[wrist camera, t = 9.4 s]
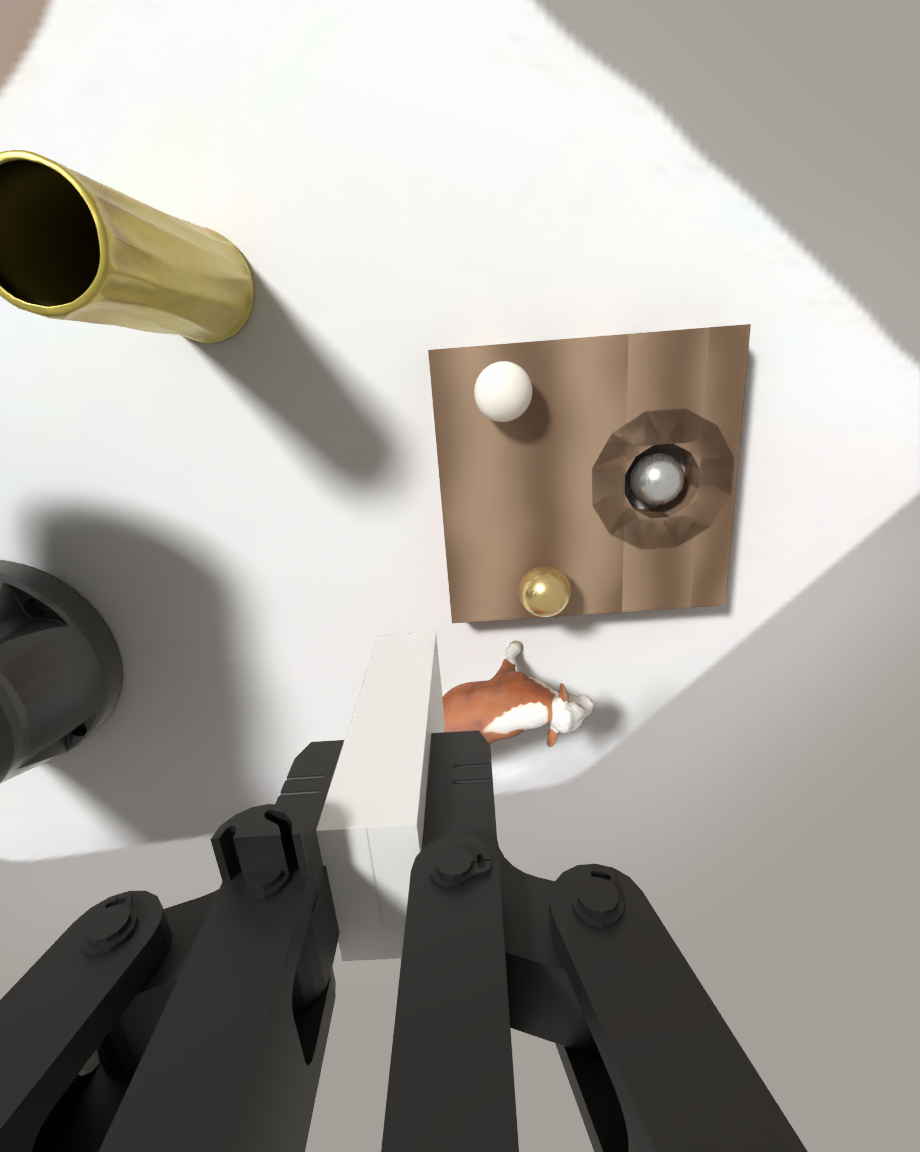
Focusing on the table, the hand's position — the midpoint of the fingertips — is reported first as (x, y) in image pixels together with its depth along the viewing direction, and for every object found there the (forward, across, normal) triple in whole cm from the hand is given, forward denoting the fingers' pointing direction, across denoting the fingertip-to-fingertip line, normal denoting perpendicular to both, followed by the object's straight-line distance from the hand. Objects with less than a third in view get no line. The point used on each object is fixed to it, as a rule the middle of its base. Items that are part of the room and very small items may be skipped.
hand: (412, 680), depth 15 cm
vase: (+25, -13, +13) cm, 31 cm away
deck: (+24, +9, 0) cm, 26 cm away
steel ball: (+23, +14, 0) cm, 27 cm away
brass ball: (+20, +6, -6) cm, 22 cm away
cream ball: (+20, +4, +6) cm, 22 cm away
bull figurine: (+25, +2, -14) cm, 28 cm away
